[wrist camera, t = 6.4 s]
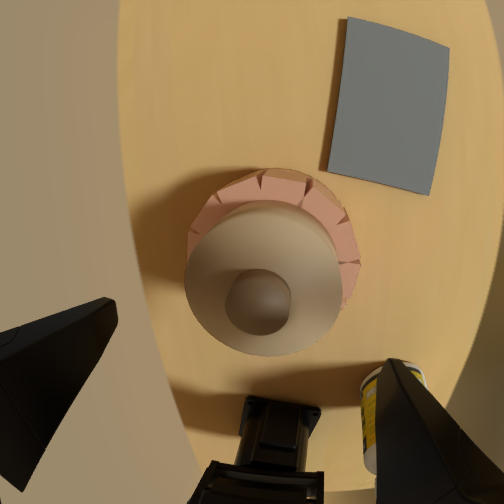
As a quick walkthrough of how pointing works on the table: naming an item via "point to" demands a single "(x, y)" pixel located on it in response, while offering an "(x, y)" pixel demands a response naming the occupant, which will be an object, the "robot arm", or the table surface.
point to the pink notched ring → (291, 191)
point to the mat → (389, 107)
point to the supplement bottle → (369, 414)
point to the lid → (265, 279)
